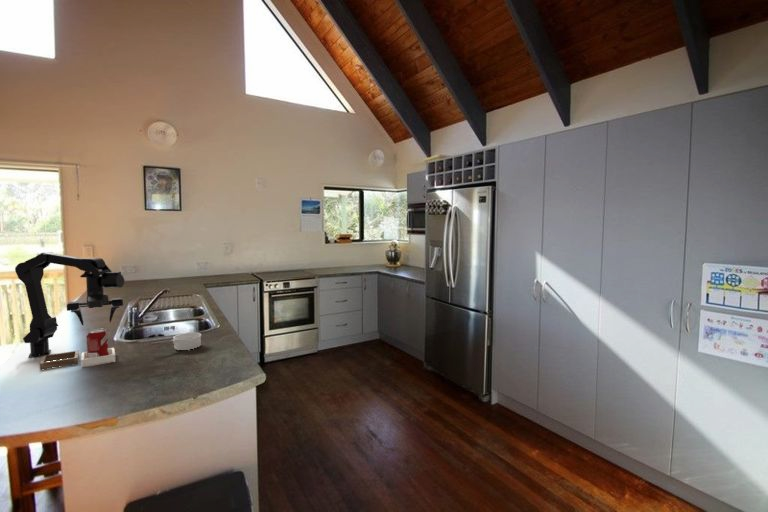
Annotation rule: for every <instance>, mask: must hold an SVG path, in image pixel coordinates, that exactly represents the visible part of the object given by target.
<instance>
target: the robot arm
mask: <svg viewBox="0 0 768 512" xmlns="http://www.w3.org/2000/svg"><path fill="white" fill-rule="evenodd" d="M51 264H55V265H60V266H61V265H62V266H67V267H68V266H69V267H73V268H77V269H78V270H80V271H83V273H82V274H81V275H79V277H80V278H86V279H85V282H86V283H85V284H86V302H80V300H76V301H75V300H74V301H68V302H67V303H66V311H69V312H71V313H74V314H75V315H76V316H77V317H78V320H79V322H80V324H81V326H85V325H84V317H83V311H82V308H89V309H94V308H103V307H104V306H110V309H109V319H108V321H109V323H112V319H113V317H114V314H115V311H116V310H117V309H119V308H120V307H122V306H124V300H123V298H122V297H111V299H110V300H109V294H105V288H108V289H109V288H113V289H115V288H116V289H119V288H123V287H124V285H125V278H124V275H123V274H122V272H121V271H114V272H113V271H112V270H111V269H110V268H109V267H108V265H107V264H106V262H105V260H104V258H101V257H80V256H79V257H78V256H73V255H72V256H71V255H65V254H60V253H54V252H52V251H51V252H49V251H47V252H41V253H39V254H37V255H36V256H34V257H31V258H29V259H27V260H25V261H24V262H20V263H17V265H16V266H15V268H14V272H15V273H16V276H17V278H18V279H19V280H20V281H21V282H22V283H23V284H24V286H25V287H24V288H25V292H26V296H27V300H28V304H29V308H30V311H31V316H32V319H31V321H30V323H29V332H28V333H27V334H26V335H25V336H24V337H23V338H22V339H23V342H24V344H29V347H30V348H29V349H30V353H29V355H28V358H35V356H36V357H41V355H42V356H45V355H51V353H52V352H51V351H52V350H51V349H50V345H49V339H50V338H53V337H54V335H55V333H56V332H57V330H58V327H59V325H58V321H57V317H56V316H54V317H52V316H51V315H50V314H49V311H48V308H47V302H46V298H45V294H44V290H43V289H44V288H43V286H42V280H43V276H44V272H45V271H44V269H46V268H47V267H49V266H50V265H51Z"/></svg>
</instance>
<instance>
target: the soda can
mask: <svg viewBox="0 0 768 512" xmlns="http://www.w3.org/2000/svg"><path fill="white" fill-rule="evenodd" d="M85 337H86V352H87V357H88V358H93V357H99V356H105V355H109V352H108V348H109V334H108V332H107V331H106V328H96V329H92V330H89V331H88V332H87V335H86V336H85Z"/></svg>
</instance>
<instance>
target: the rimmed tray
mask: <svg viewBox="0 0 768 512" xmlns="http://www.w3.org/2000/svg"><path fill="white" fill-rule="evenodd" d="M115 351H116V350H115V347H110V348H109V347H108V352H109V355H105V356H99V357H93V358H88V357H87V351H85V352H81V356H80V365H81V368H87V367H93V366H99V365H105V364H110V363H115V362H116V352H115Z"/></svg>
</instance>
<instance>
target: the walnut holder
mask: <svg viewBox="0 0 768 512" xmlns="http://www.w3.org/2000/svg"><path fill="white" fill-rule="evenodd" d="M74 357H75V358H74ZM79 357H80V353H79V350H72V351H67V352H65V351H64V352H59V353H53V354H51V353H50V354H49V355H42V357H41V360H40V362H39V371H43V370H42V369H45V370H48V369H47V368H51V369H53V368H52V367H57V368H60V367H59V366H63V367H67V366H66V365H69V366H74V365H79ZM67 358H68V359H67ZM60 359H62V360H60ZM53 360H56V361H53ZM46 361H50V362H46ZM73 364H74V365H73Z"/></svg>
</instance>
